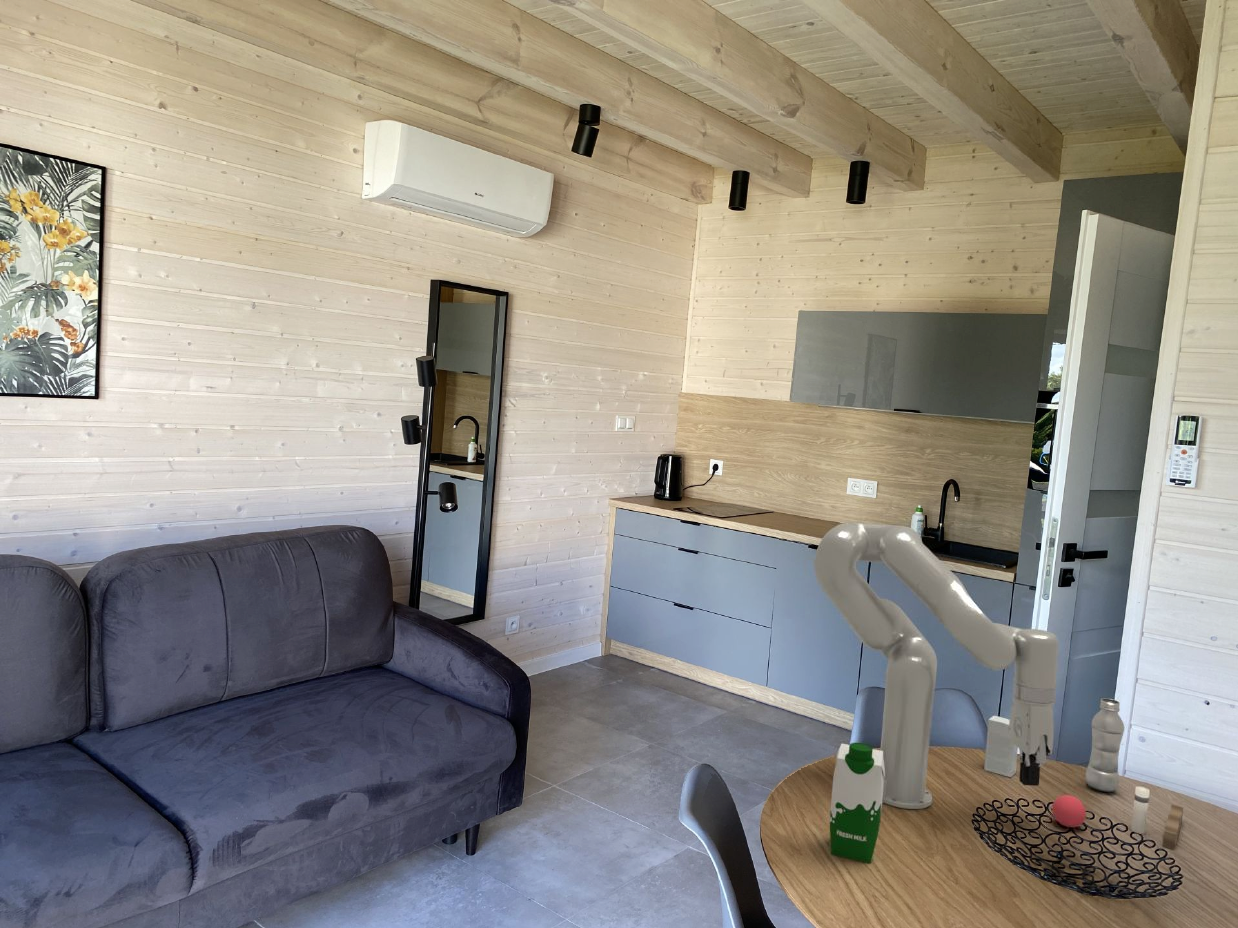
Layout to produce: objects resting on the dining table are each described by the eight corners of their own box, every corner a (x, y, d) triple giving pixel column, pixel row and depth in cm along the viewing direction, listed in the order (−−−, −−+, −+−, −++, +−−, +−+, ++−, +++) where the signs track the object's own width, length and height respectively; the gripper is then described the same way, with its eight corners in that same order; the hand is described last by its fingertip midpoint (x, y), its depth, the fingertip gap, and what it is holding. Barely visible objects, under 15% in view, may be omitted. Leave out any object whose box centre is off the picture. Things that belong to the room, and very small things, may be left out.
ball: (1059, 831, 174) (1062, 801, 174) (1045, 817, 180) (1048, 788, 180) (1090, 833, 174) (1093, 804, 174) (1075, 819, 180) (1078, 790, 180)
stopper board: (1174, 849, 170) (1176, 834, 170) (1162, 845, 171) (1164, 830, 171) (1181, 821, 183) (1183, 807, 183) (1170, 818, 184) (1171, 804, 184)
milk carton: (825, 855, 158) (834, 746, 157) (830, 833, 167) (839, 730, 166) (876, 867, 156) (886, 755, 154) (878, 844, 164) (888, 738, 163)
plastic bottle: (1109, 784, 200) (1118, 697, 199) (1123, 797, 193) (1132, 707, 192) (1079, 781, 201) (1088, 694, 199) (1092, 793, 194) (1101, 704, 193)
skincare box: (1016, 772, 203) (1021, 721, 202) (1010, 778, 200) (1016, 726, 199) (988, 764, 207) (993, 714, 206) (983, 769, 204) (987, 718, 203)
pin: (1135, 833, 176) (1139, 791, 175) (1128, 827, 178) (1133, 785, 178) (1147, 834, 176) (1152, 791, 175) (1140, 828, 178) (1145, 786, 178)
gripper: (999, 681, 183) (994, 768, 184) (1031, 704, 168) (1026, 798, 169) (1036, 682, 183) (1031, 769, 184) (1071, 705, 168) (1066, 800, 169)
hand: (1029, 783), depth 177 cm, fingers closed
